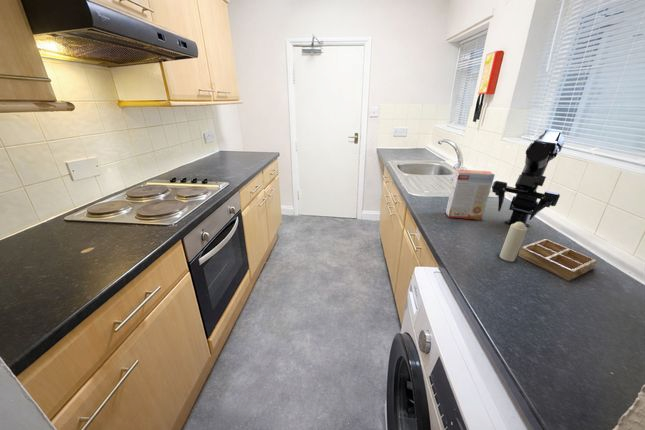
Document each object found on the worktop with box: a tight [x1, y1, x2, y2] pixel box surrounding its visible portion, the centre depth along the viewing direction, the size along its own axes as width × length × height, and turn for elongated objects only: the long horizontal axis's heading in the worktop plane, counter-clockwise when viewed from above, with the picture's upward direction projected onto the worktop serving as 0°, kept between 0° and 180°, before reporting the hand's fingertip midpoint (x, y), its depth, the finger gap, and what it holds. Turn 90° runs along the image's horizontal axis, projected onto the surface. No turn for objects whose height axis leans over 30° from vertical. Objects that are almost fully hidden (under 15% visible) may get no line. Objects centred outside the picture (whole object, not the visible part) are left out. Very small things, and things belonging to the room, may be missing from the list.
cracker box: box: [445, 168, 496, 221], centre depth 115 cm, size 14×6×21 cm, turn 80°
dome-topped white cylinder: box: [499, 222, 528, 262], centre depth 87 cm, size 4×4×14 cm
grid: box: [517, 238, 598, 282], centre depth 88 cm, size 15×15×3 cm
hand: (513, 215), depth 91 cm, fingers open, 9 cm apart
